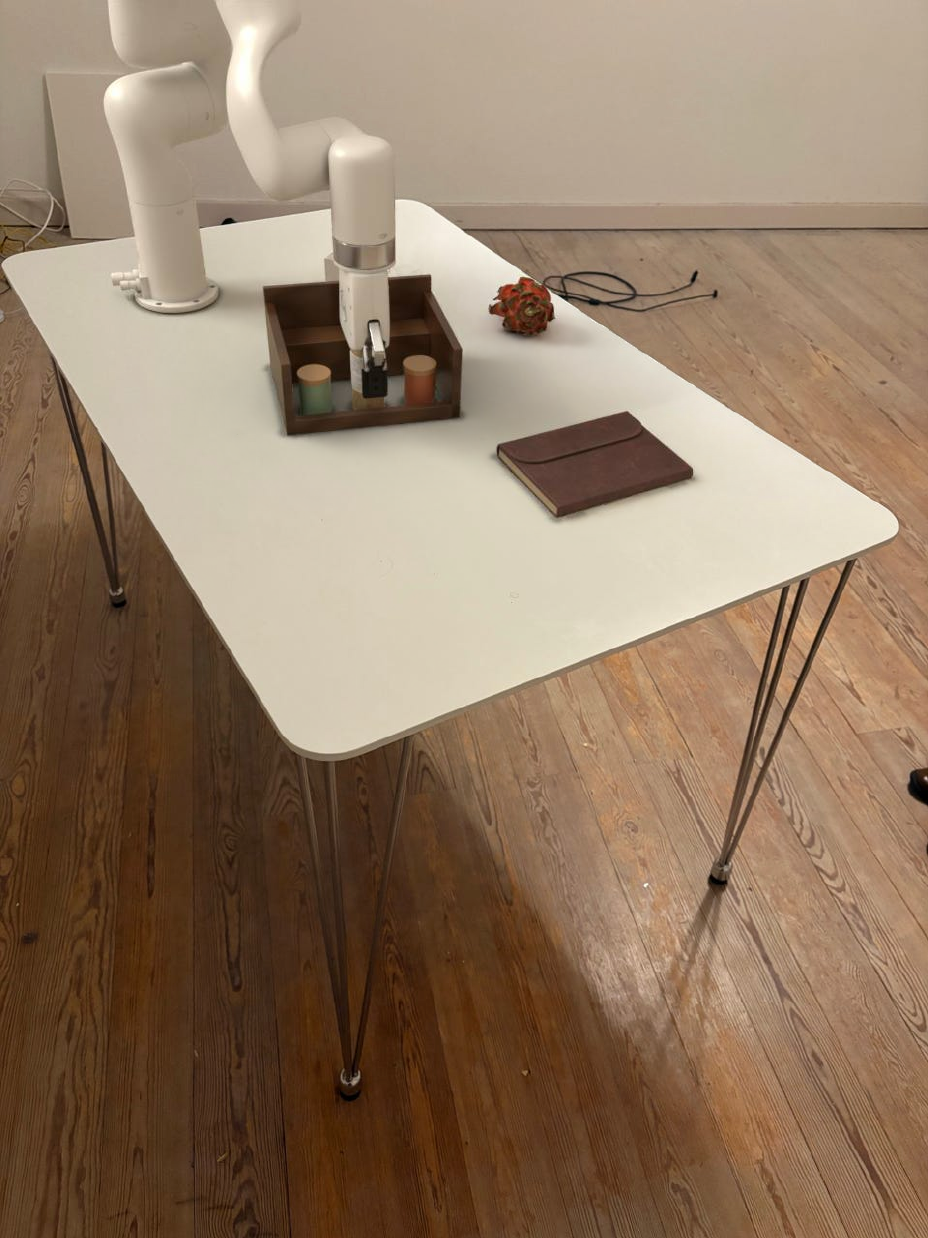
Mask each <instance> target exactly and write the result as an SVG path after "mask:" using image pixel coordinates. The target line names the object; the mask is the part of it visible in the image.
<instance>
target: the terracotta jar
mask: <svg viewBox="0 0 928 1238" xmlns="http://www.w3.org/2000/svg"><path fill="white" fill-rule="evenodd" d="M403 369H404V374H403V405H412V404H422V403H432V402H436V384H435V371H436V361H435V360H434V359H433V358H431V357H429V356H425V355H413V356H410V357H407V358H406V359H405V360H404V361H403Z"/></svg>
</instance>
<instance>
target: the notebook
mask: <svg viewBox="0 0 928 1238" xmlns="http://www.w3.org/2000/svg"><path fill="white" fill-rule="evenodd" d="M495 450H496V451H495V452H496V457H497V459H498V460H500V462H502V464H504V465H505V467H507V469H508V470H509V471H510V472H511V473H512V474H513V475H514V476H515V477H516V478H517V479H518V481H520V482H521V483H522V485H523V486H525V488H527V489H528V491H530V493H531V494H533V496H534V497H535V498H536V499H537V500H538V501H539V502H540V503H541V504H542V505H543V506H544V507H545V508H546V509H547V510H548V512H550V514H551V515H552V516H554V518H556V519H559V518H563V517H565V516H569V515H572V514H576V513H579V512H582V511H586V510H589V509H592V508H596V507H600V506H602V505H606V504H609V503H613V502H617V501H620V500H623V499H626V498H630V497H634V496H637V495H640V494H643V493H646V492H650V491H655V490H657V489H660V488H664V487H667V486H669V485H673V484H678V483H680V482H684V481H688V480H691V479H692V478H693V477H694V468H693V467H692V466H691V465H690V464H688V463H687V462H686V460H684V459H683V458H682V457H680V456H679V455H678V453H676V452H675V451H673V450H672V449H671V448H670V447H669V446H668V445H666V444H665V443H664V442H663V441H662V440H661V439H660V438H658V437H657V436H656V435H655V434H654V433H652V432H651V431H650V430H648V429H647V428H646V427H645V426H644V425H643V424H642V423H641V421H640V420H639V419H638V418H637V417H636V416H635V415H633V414H632V413H631V412H630V411H628V410H625V411H622V412H621V411H620V412H618V413H613V414H609V415H606V416H602V417H599V418H594V419H590V420H586V421H582V422H578V423H574V424H571V425H568V426H564V427H563V426H562V427H559V428H556V429H551V430H547V431H544V432H539V433H536V434H532V435H528V436H525V437H519V438H516V439H513V440H509V441H505V442H501V443H497V445H496V448H495Z"/></svg>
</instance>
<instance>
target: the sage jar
mask: <svg viewBox="0 0 928 1238" xmlns="http://www.w3.org/2000/svg"><path fill="white" fill-rule="evenodd" d="M297 380H298V384H297V388H298V399H299V411H300V412H299V413H300V416H301V415H311V414H321V413H331V412H333V398H332V381H331V371H330V369H329V368H328V367H326V366H323V365H318V364H311V365H305V366H303V367H301V368H299V369H298V371H297Z"/></svg>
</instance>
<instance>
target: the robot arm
mask: <svg viewBox="0 0 928 1238" xmlns="http://www.w3.org/2000/svg"><path fill="white" fill-rule="evenodd" d="M107 5H108V18H109V29H110V36H111V41H112V45H113V48H114V50H115V52H116V55H117V56H118V58H119V59H120V60H121V61H122V62H123V63H124V64H125V65H127V66H129V67H131V68H135V69H144V71H139V72H133V73H130V74H126V75H124V76H121V77H119V78H117V79H116V80H113V82H112V83H111V84H109V86H108V87H107V88H106V90H105V93H104V96H103V110H104V114H105V118H106V122H107V124H108V127H109V130H110V133H111V136H112V138H113V141H114V144H115V147H116V150H117V151H116V152H117V154H118V158H119V161H120V165H121V169H122V174H123V179H124V184H125V189H126V190H125V191H126V195H127V200H128V205H129V210H130V211H129V212H130V217H131V223H132V227H133V233H134V234H133V235H134V240H135V244H136V251H137V255H138V256H137V257H138V263H137V265H138V268H135V269H132V271H114V272H111V273H110V275H111V283H112V285H113V287H114V286H116V287H117V286H120V290H121V291H131V290H134V297H135V301H136V303H137V304H138V305H140V306H141V307H142V308H144V309H146V310H150V311H152V312H157V313H164V314H181V313H189V312H194V311H198V310H201V309H203V308H205V307H207V306H210V305H211V304H213V303H214V302H215V301H216V300H217V298H218V296H219V287H218V284H217V283H216V281H214V280H213V279H212V278H210V277H209V276H207V272H206V265H205V259H204V250H203V242H202V236H201V229H200V222H199V221H200V220H199V215H198V209H197V208H198V207H197V206H198V205H197V199H196V198H197V197H196V193H195V185H194V181H193V178H192V177H193V176H192V175H191V172H190V170H189V169H188V167H187V166H186V165H185V164H184V162H183V161H182V160H181V159H180V158H179V157H178V156H177V155H176V153H175V152H174V147H176V146H179V145H182V144H184V143H188V142H193V141H197V140H201V139H205V138H208V137H209V138H210V137H212V136H215V135H218V134H219V133H221V132H222V131H223V130H224V129H225V127H226V126H227V124H228V123H229V127H230V130H231V133H232V136H233V138H234V140H235V143H236V145H237V147H238V149H239V152H240V154H241V156H242V159H243V161H244V163H245V165H246V168H247V170H248V172H249V174H250V176H251V177H252V179H253V181H254V183H255V184H256V185H257V187H258V188H259V189H260V190H261V192H262V193H263V194H265V195H266V196H267V197H268V198H270V199H272V200H275V201H277V202H289V201H293V200H298V199H300V198H304V197H308V196H310V195H313V194H314V195H315V194H317V193H321V192H325V191H329V198H330V218H331V222H330V223H331V236H332V237H331V238H332V253H333V262H334V264H335V266H337V267H338V268H339V291H340V322H341V326H342V329H343V332H344V334H345V337H346V340H347V342H348V345H349V360H350V348H351V350H353V351H354V352H356V351H357V350H362V358H363V365H364V368H363V369H361V372H362V395H363V398H365V399H368V398H378V397H384V398H386V397H387V396H388V395H389V392H388V391H389V389H388V387H389V386H388V385H389V384H388V376H387V364H386V356H385V349H386V348H387V347H388V346H389V338H390V316H389V286H388V277H389V272H388V271H389V270H390V269H392V268H393V267H394V266H395V265H396V262H397V258H396V257H397V256H396V255H397V254H396V251H397V250H396V245H397V243H396V158H395V157H396V156H395V152H394V149H393V147H392V145H391V144H390V143H389V142H388V140H386V139H384V138H382V137H379V136H375V135H369V134H366V132H364V131H362V130H361V129H360V128H359V127H358V126H357V125H356V124H355V123H352V122H351V121H350V120H348V119H346V118H344V117H339V116H329V117H324V118H319V119H315V120H311V121H306V122H301V123H297V124H294V125H289V126H285V127H281V128H276V126H275V122H274V121H273V118H272V116H271V114H270V112H269V110H268V107H267V104H266V100H265V97H264V92H263V91H264V90H263V75H264V74H263V73H264V69H265V66H266V62H267V60H268V59H269V58H270V57H271V56H273V55H274V54H275V53H276V52H278V51H279V50H280V49H282V48H283V47H284V46H285V45H286V44H288V42H289V41H290V40H292V38H293V37H294V36H295V35H296V34H297V33H298V31H299V29H300V27H301V23H302V17H301V11H300V9H299V7H298V4H297V2H296V0H107ZM162 67H163V68H162ZM145 69H147V70H145ZM148 69H149V70H148ZM367 341H371V345H365V342H367ZM369 351H372V356H373V357H370V359H369V361H368V354H367V352H369Z"/></svg>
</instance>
